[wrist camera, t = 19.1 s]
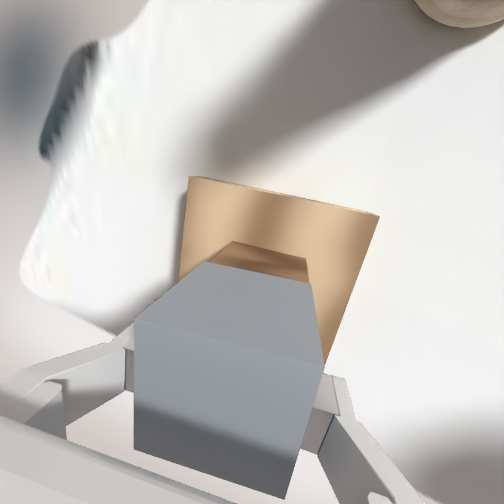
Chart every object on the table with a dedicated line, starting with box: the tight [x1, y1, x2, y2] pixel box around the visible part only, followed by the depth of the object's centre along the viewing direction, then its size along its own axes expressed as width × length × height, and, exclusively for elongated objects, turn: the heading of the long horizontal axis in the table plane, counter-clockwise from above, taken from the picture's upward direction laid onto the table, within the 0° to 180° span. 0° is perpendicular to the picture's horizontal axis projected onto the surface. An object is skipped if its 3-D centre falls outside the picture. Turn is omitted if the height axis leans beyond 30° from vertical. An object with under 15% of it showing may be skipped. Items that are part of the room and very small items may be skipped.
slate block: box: [134, 261, 325, 499], centre depth 9 cm, size 5×5×5 cm
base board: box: [178, 176, 380, 366], centre depth 17 cm, size 12×12×2 cm
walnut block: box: [210, 241, 310, 284], centre depth 14 cm, size 5×5×5 cm
